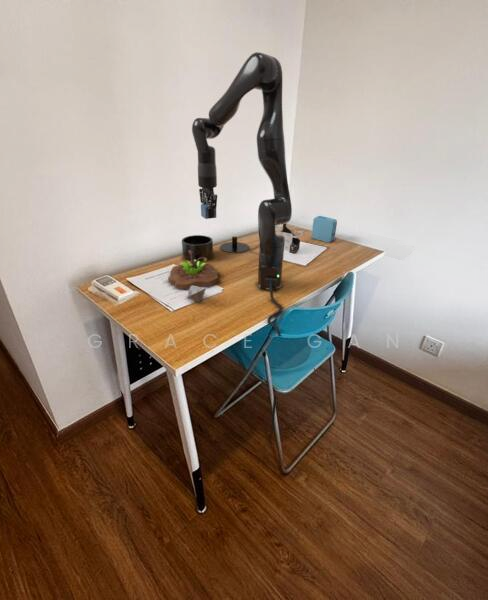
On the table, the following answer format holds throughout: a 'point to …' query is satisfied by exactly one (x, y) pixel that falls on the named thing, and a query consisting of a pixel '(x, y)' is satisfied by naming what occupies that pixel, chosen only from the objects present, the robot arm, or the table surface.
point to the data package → (324, 228)
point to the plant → (193, 274)
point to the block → (206, 211)
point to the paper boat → (196, 293)
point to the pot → (197, 247)
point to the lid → (234, 246)
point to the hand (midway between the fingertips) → (208, 215)
